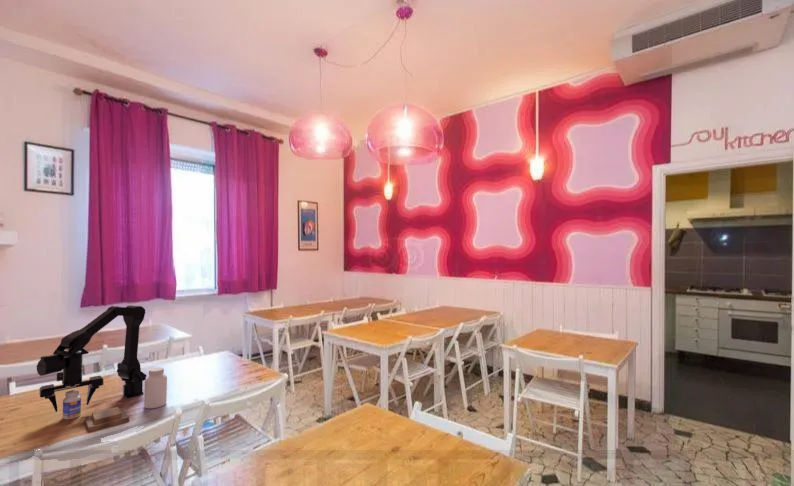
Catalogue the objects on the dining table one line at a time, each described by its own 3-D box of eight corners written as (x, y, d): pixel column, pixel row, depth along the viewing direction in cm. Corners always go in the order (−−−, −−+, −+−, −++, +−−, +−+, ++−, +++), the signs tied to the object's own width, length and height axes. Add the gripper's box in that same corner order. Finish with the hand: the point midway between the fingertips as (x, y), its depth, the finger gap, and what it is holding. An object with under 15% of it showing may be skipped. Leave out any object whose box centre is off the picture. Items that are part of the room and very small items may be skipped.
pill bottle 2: (170, 403, 163) (171, 367, 163) (151, 410, 155) (152, 373, 155) (158, 400, 166) (159, 365, 166) (139, 407, 159) (140, 370, 159)
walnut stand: (122, 411, 154) (122, 403, 154) (129, 421, 146) (129, 413, 146) (84, 420, 146) (84, 412, 146) (88, 431, 137) (88, 423, 137)
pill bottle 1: (70, 420, 146) (70, 394, 146) (58, 419, 147) (59, 393, 147) (84, 414, 151) (84, 389, 152) (73, 413, 153) (73, 388, 153)
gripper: (99, 358, 162) (98, 395, 162) (39, 368, 149) (38, 408, 148) (104, 364, 154) (103, 403, 154) (40, 375, 141) (39, 417, 141)
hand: (72, 407), depth 149 cm, fingers open, 9 cm apart
